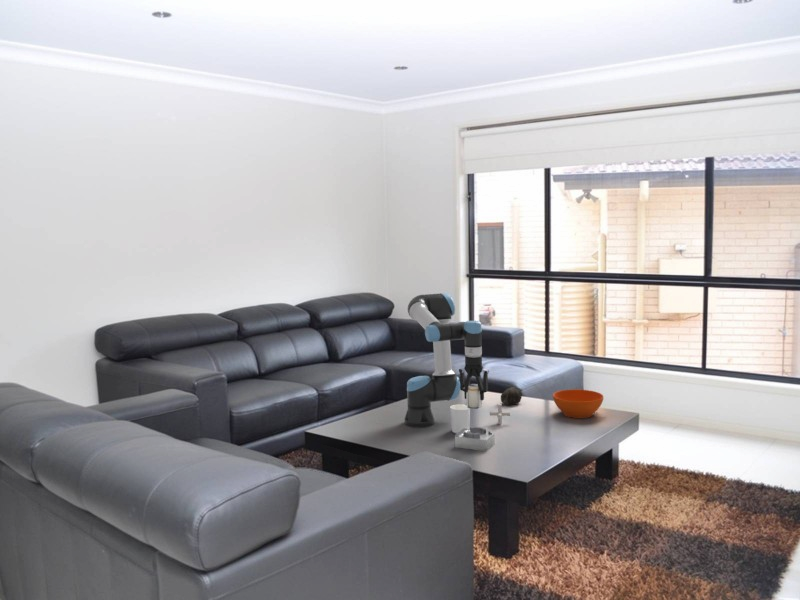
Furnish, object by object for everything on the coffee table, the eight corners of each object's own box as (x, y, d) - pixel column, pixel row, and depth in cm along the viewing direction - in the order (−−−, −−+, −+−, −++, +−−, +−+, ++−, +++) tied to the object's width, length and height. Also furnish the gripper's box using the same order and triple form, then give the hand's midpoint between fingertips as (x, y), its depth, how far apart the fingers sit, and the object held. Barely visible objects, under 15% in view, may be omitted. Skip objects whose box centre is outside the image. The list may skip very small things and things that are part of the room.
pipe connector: (509, 427, 353) (509, 407, 352) (489, 426, 355) (488, 406, 354) (510, 421, 363) (510, 401, 362) (490, 420, 365) (490, 401, 364)
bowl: (585, 405, 388) (585, 387, 387) (613, 417, 364) (613, 398, 363) (544, 411, 380) (543, 392, 379) (569, 423, 356) (569, 403, 355)
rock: (497, 403, 394) (499, 385, 393) (506, 401, 403) (509, 384, 402) (513, 407, 388) (516, 389, 387) (522, 405, 397) (525, 388, 397)
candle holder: (457, 435, 343) (456, 410, 341) (446, 430, 351) (446, 406, 350) (474, 432, 347) (474, 407, 346) (463, 426, 356) (463, 403, 355)
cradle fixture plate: (455, 447, 326) (454, 432, 325) (463, 440, 335) (463, 425, 335) (486, 451, 319) (486, 435, 318) (494, 443, 329) (494, 428, 328)
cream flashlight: (466, 408, 324) (466, 385, 323) (470, 405, 328) (470, 383, 327) (477, 409, 322) (477, 386, 320) (481, 406, 326) (481, 384, 325)
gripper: (451, 356, 323) (452, 406, 326) (489, 358, 315) (490, 410, 318) (457, 353, 330) (458, 402, 332) (495, 355, 322) (496, 406, 324)
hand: (474, 406), depth 325 cm, fingers closed on cream flashlight, 5 cm apart
